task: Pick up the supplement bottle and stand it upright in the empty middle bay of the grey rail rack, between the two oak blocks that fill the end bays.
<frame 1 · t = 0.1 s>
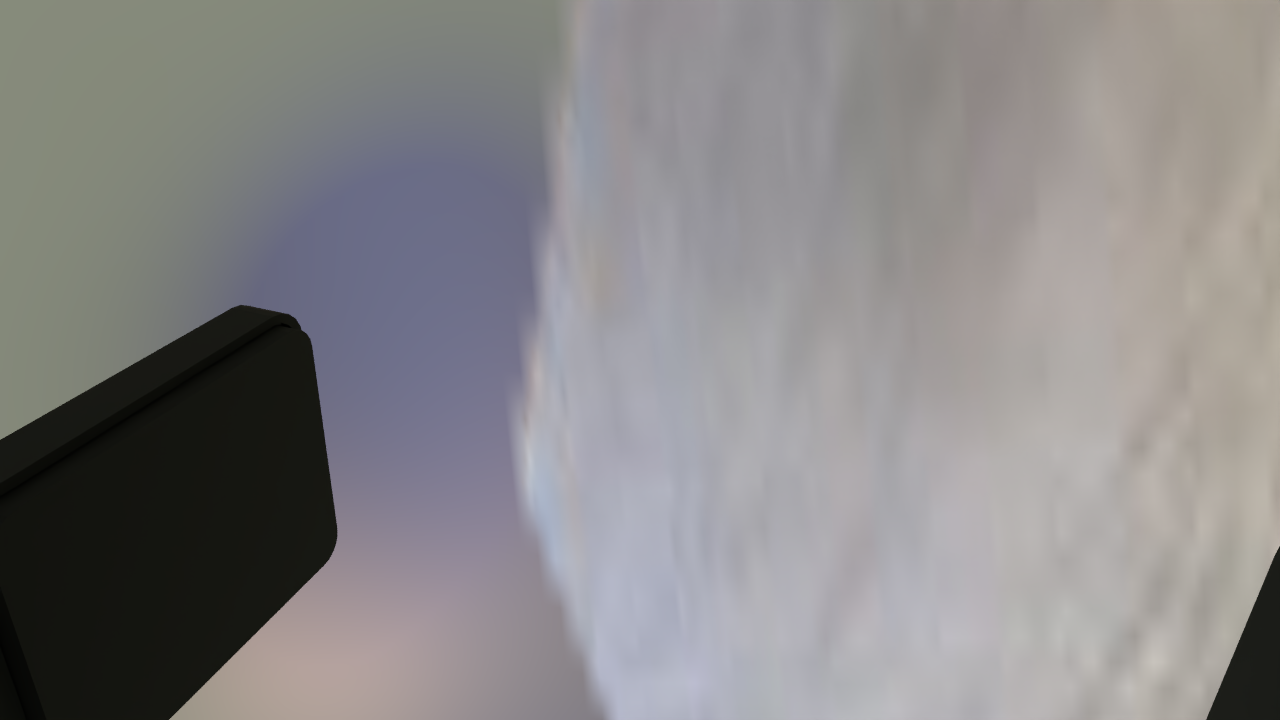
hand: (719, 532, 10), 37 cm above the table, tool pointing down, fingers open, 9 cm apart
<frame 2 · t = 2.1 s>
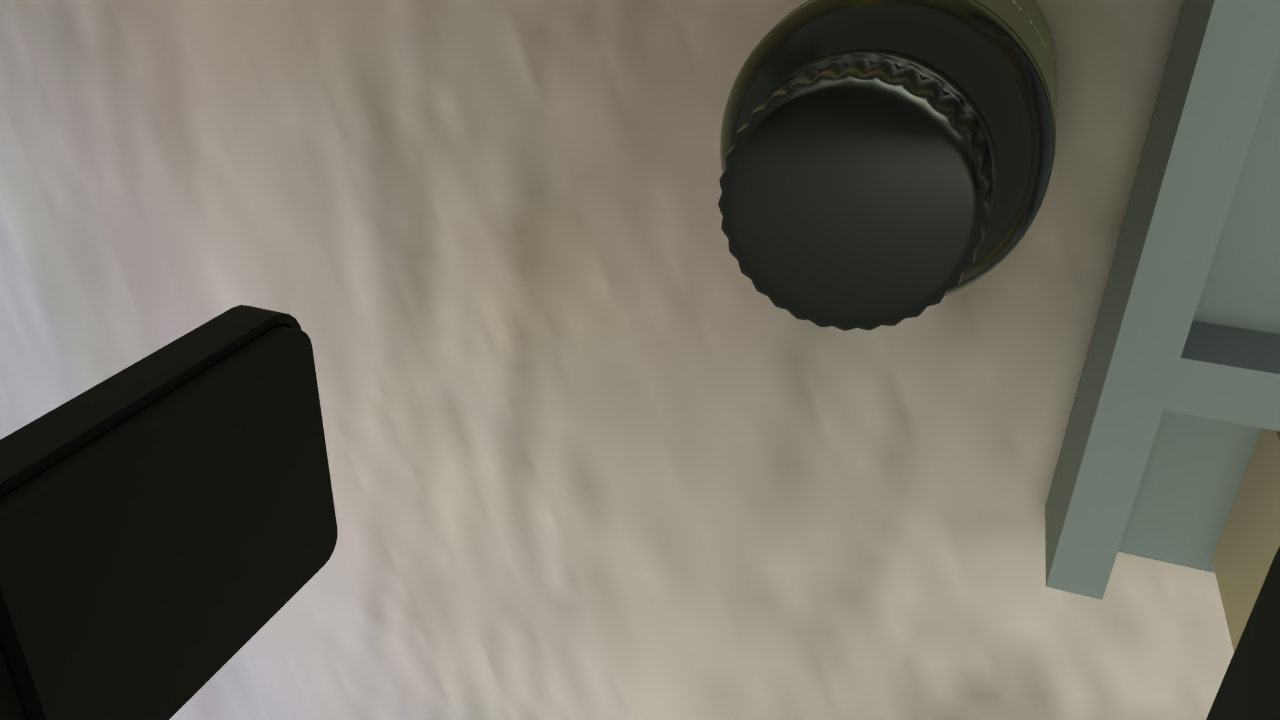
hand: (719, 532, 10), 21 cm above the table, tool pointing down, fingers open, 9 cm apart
supplement bottle: (920, 75, 28), on the table
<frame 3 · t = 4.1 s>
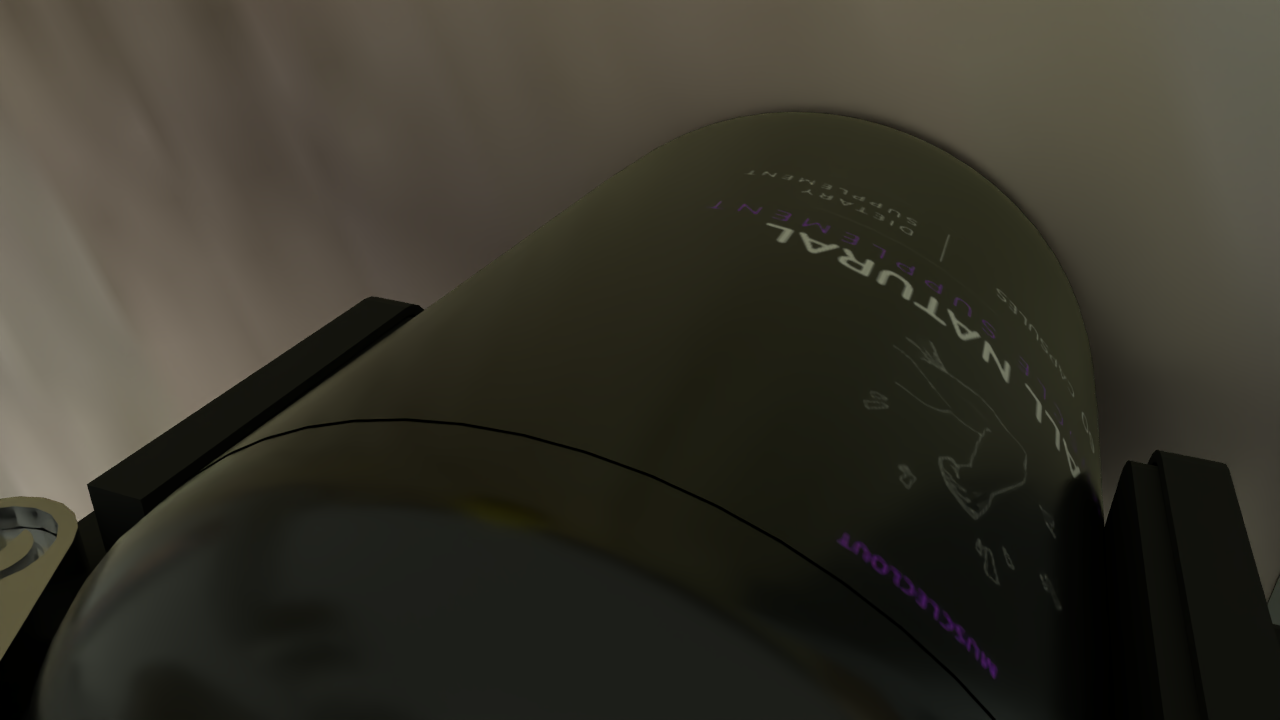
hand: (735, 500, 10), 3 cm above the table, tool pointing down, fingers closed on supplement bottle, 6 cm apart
supplement bottle: (804, 353, 13), on the table, touching gripper
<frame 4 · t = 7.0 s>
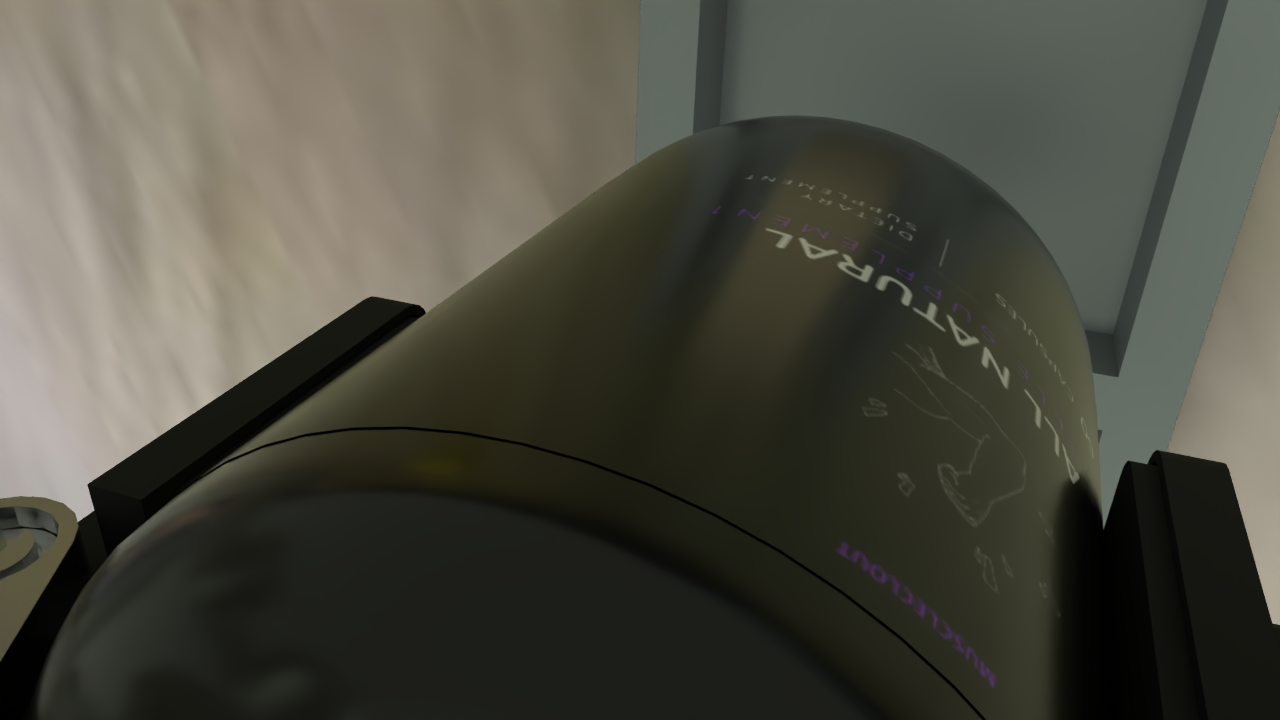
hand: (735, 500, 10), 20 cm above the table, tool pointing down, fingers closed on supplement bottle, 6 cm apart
rail rack: (937, 97, 27), on the table
supplement bottle: (804, 356, 13), point 16 cm above the table, touching gripper
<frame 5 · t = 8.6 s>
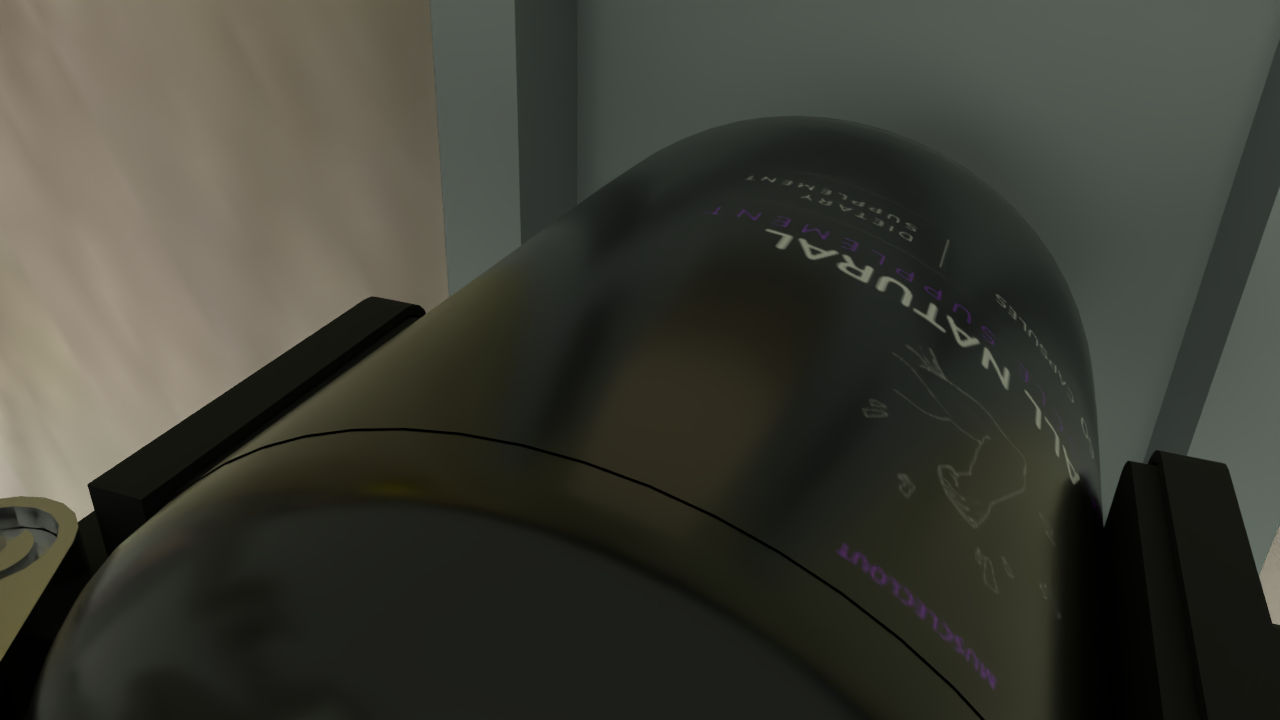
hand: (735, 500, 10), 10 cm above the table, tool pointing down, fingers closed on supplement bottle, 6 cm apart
rail rack: (875, 193, 19), on the table
supplement bottle: (804, 357, 13), point 7 cm above the table, touching gripper
when the fingers open (6 cm above the table, at t = 10.0 s): supplement bottle drops 1 cm, resting on rail rack.
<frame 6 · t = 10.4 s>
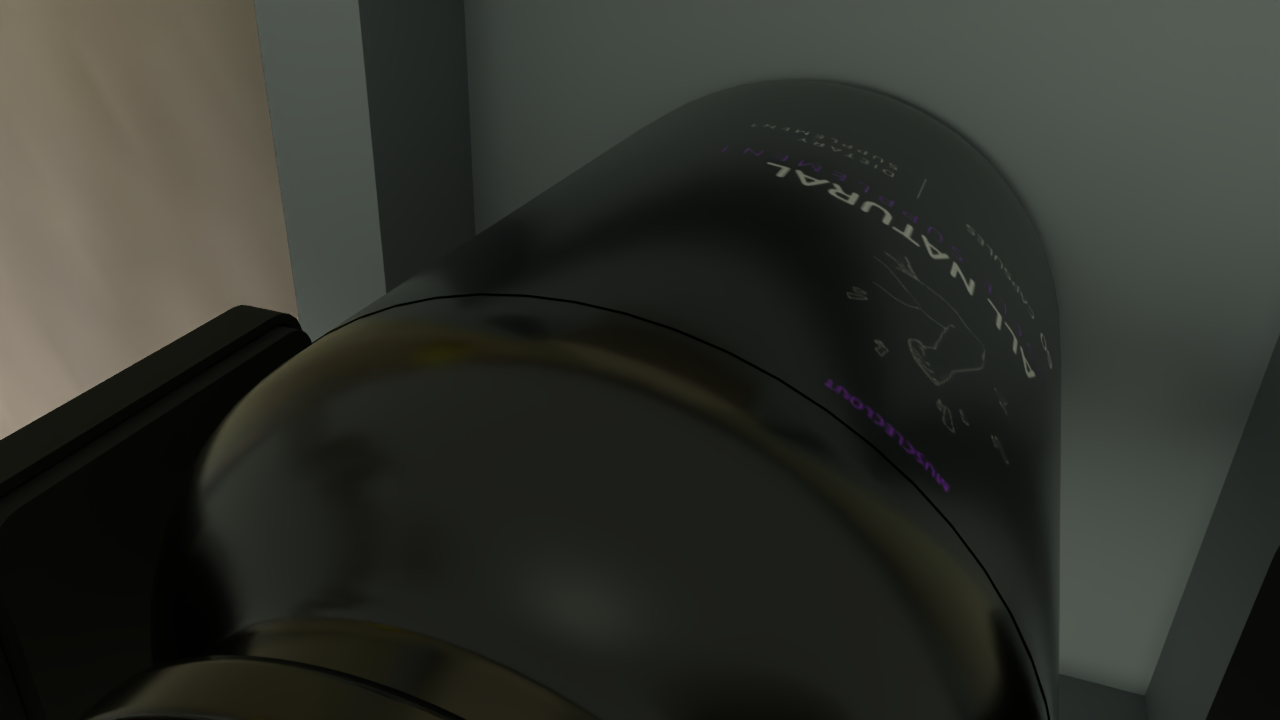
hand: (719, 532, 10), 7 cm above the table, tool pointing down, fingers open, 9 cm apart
rail rack: (841, 278, 15), on the table
supplement bottle: (800, 304, 14), point 1 cm above the table, touching rail rack
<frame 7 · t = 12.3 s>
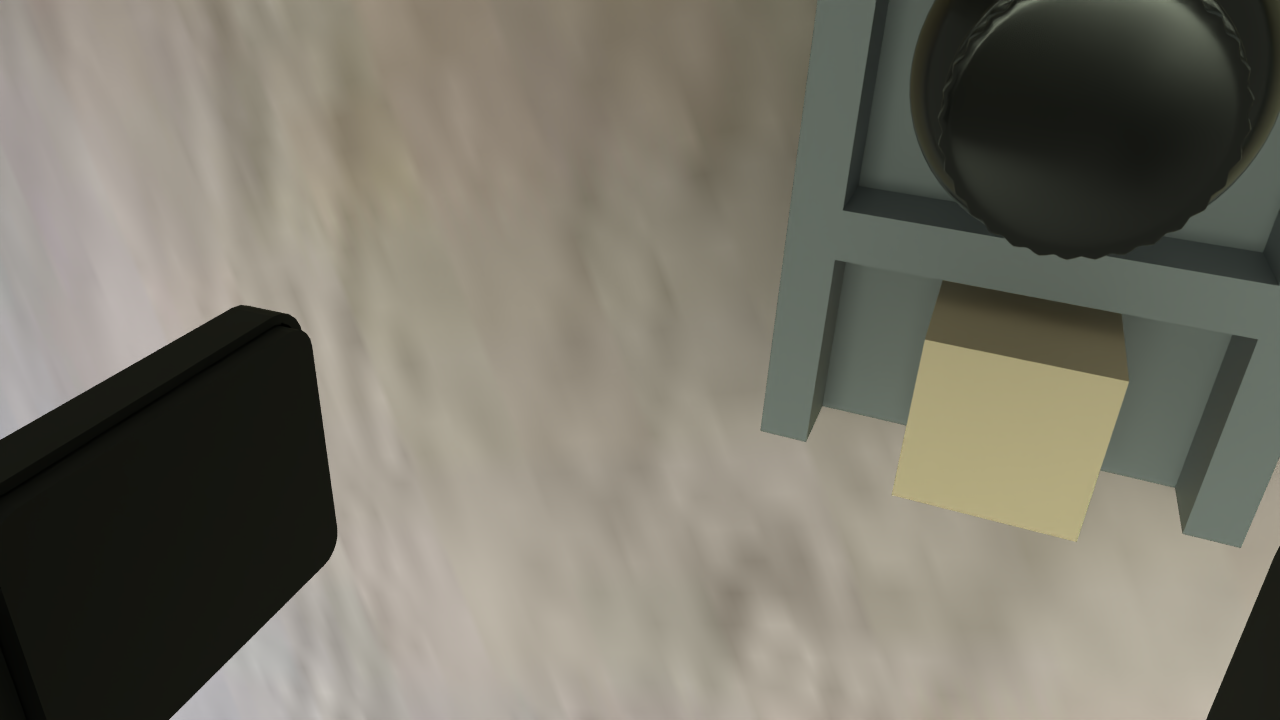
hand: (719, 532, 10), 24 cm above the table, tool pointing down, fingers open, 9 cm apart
rail rack: (1097, 19, 27), on the table
supplement bottle: (1084, 23, 26), point 1 cm above the table, touching rail rack
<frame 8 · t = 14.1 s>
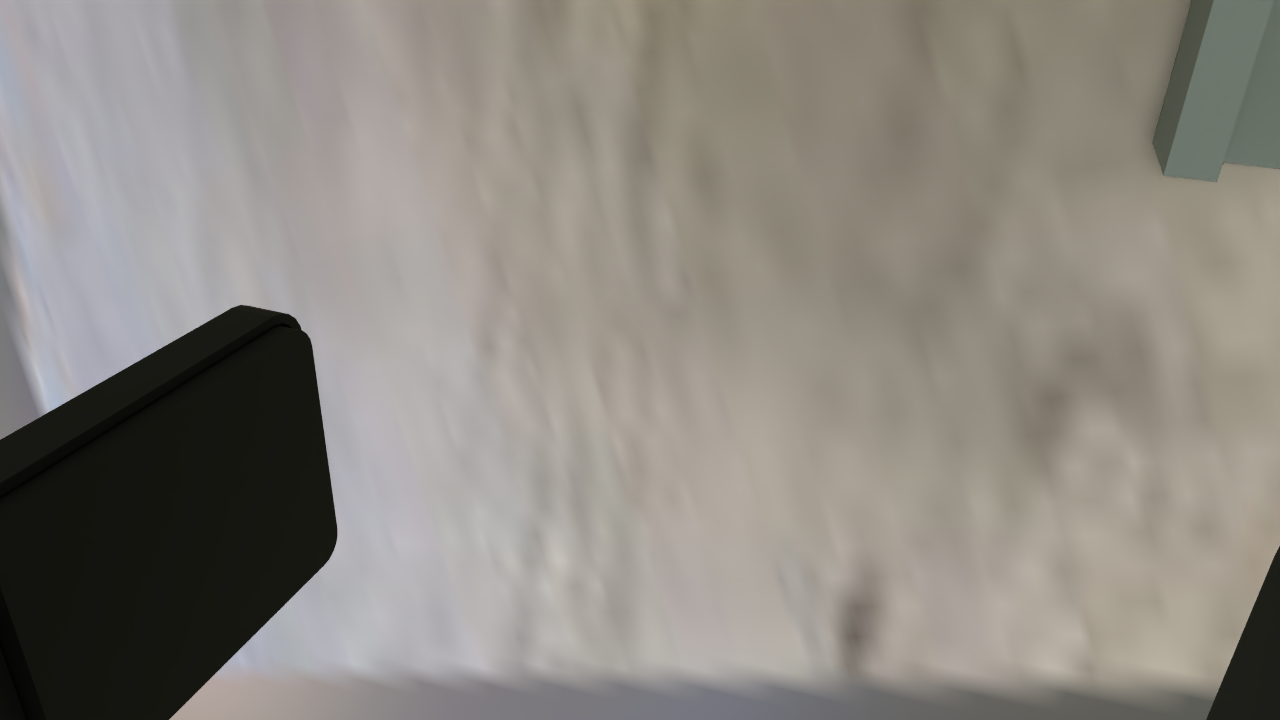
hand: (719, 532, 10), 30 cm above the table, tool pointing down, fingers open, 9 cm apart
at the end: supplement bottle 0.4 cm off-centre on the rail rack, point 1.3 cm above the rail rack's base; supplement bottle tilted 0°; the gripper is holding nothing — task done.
